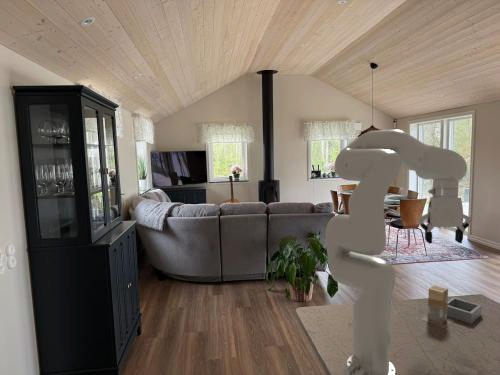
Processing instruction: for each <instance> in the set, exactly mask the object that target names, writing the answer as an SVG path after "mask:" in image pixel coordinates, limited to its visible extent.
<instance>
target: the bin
mask: <svg viewBox="0 0 500 375" xmlns="http://www.w3.org/2000/svg"><path fill="white" fill-rule="evenodd" d="M481 315H482V305H481V304H478V303H474V302H470V301H469V300H463V299H461V298H457V297H455V296H454V297H452V298H450V299H449V300H448V304H447V317H448V318H449V317H450V318H451V319H454V320H459V321H462V322H464V323H467V324H471V325H472V324H473V323H474V322H476V320H477V319H478V318H479V317H481Z"/></svg>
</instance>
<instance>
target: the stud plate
mask: <svg viewBox="0 0 500 375" xmlns="http://www.w3.org/2000/svg"><path fill="white" fill-rule="evenodd" d="M419 320H420V321H423V322H426V323H429V324H432V325H434V326H437V327H440V328H443V329H446V328H447V327H449V326H450V325H451V324H452V323H453V322H455V320H456V319H453V318H449V317H447V320H446V321H445V322H444V323H442V324H439V323H436V322H433V321H430V320H428V313H427V314H425V315H424V316H423V317H422V318H421V317H420V319H419Z"/></svg>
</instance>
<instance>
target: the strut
mask: <svg viewBox="0 0 500 375" xmlns="http://www.w3.org/2000/svg"><path fill="white" fill-rule="evenodd" d="M427 297H428V298H427V299H428V300H427V301H428V302H427V314H428V320H430V321H433V322H436V323H439V324H442V323H444V322H445V321H446V320H447V318H448V316H447V304H448V301H449V300H448V299H449V298H448V297H449V288H446V287H444V286H438V285H433V286H430V287H429V288H428V296H427Z"/></svg>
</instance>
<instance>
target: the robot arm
mask: <svg viewBox="0 0 500 375" xmlns="http://www.w3.org/2000/svg"><path fill="white" fill-rule="evenodd" d="M401 167H403V168H404V169H406V170H409V171H414V172H415V174H416V176H417V177H419V178H421V179H423V180H432V187H431V188H430V189H428V194H431V195H430V198H429V201H428V207H427V213H426V214H424V215H422V216H420V217H418V218H417V222H418V225H419V226H420V227H421V228H422V229H423V230H424V240H425V241H426V243H427V244H433V232H432V230H433V229H434V228H455V232H454V233H455V236H454V241H455V242H456V243H458V244H462V243H463V240H464V232H465V231H466V229H467V228H469V226H470V224H471V222H472V221H473V218H472V217H470V216H468V215H466V214H465V213H464V208H463V201H462V197H461V196H459V182H460V180H462V179H463V178H465V176H466V175H467V170H468V166H467V161H466V159H464V157H463V156H462V155H461V154H459V153H458V152H456V151H454V150H452V149H449V148H443V147H440V146H436V145H431V144H428V143H425V142H422V141H421V140H419V139H417V138H416V137H414V136H413V135H411V134H410V133H408V132H406V131H405V130H402V129H401V130H400V129H383V130H380V129H379V130H369V131H367V132H364V133H363V134H361V135H359V137H356V138H355V139H354V140H352V142H350V143H349V144H348V145H347V146H345V147H344V148H343V149H342V150H341V151H339V153H338V154H337V156H336V158H335V162H334V170H335V173H336V174H337V176H338V178H341V179H342V180H345V181H351V182H359V183H358V184H357V185H356V186H355V188H354V189H353V190H352V191H351V193H350V196H349V198H348V204H347V205H348V214H342V213H341V214H336V215H334V216H333V217H331V218H330V220H329V221H328V223H327V226H326V230H325V245H326V246H325V247H326V253H327V260H328V261H327V262H328V268H329V272H330V276H331V278H332V279H333V280H334V282H337V283H338V284H340V285H344V286H346V287H350V288H352V289H355V290H357V291H359V292H360V293H361V294H360V295H359V296H358V298H357V299H356V300H355V301H354V303H353V306H352V355H351V356H349V357H348V359H346V360H347V361H346V366H345V367H344V368H343V374H344V375H396V368H395V366H394V364H393V363H392V362H391V361H390V348H391V315H392V313H391V311H392V309H391V307H392V299H393V298H392V297H393V292H394V288H395V283H396V277H397V276H396V270H395V268H394V266H393V265H392V263H390V262H388V261H387V260H385V259H382V258H380V257H376V256H379V255H381V254H382V253H383V252H384V251H385V249H386V246H387V245H386V244H387V232H386V222H385V208H384V207H385V198H386V195H387V194H388V192H389V190H390V187H391V186H392V184H393V183H394V181H395V179H396V178H397V176H398V175H399V173H400V171H401ZM425 220H426V221H427V223H426V224H425V222H424V221H425Z"/></svg>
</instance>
